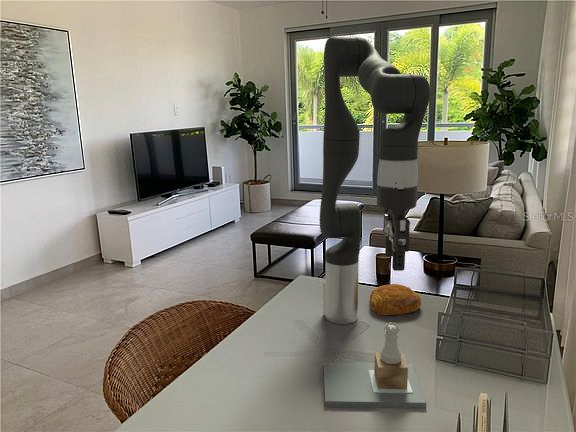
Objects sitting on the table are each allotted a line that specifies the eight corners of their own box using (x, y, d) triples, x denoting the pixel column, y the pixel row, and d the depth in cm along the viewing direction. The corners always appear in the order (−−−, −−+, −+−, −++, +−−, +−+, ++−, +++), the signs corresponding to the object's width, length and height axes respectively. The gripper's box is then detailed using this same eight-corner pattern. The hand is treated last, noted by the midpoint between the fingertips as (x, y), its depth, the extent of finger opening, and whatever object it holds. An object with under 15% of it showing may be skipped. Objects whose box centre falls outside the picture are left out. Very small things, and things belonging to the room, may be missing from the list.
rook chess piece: (401, 366, 93) (403, 330, 91) (379, 364, 93) (380, 329, 92) (401, 355, 97) (402, 320, 95) (380, 353, 98) (381, 319, 96)
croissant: (426, 321, 130) (431, 296, 129) (376, 320, 127) (381, 294, 125) (404, 300, 144) (409, 277, 142) (359, 298, 141) (363, 274, 139)
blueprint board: (325, 406, 90) (325, 400, 90) (323, 367, 104) (323, 362, 104) (426, 407, 89) (426, 401, 89) (410, 368, 103) (411, 363, 103)
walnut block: (377, 388, 94) (378, 367, 92) (374, 372, 99) (374, 352, 98) (407, 389, 93) (408, 367, 92) (401, 372, 99) (402, 352, 98)
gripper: (372, 177, 93) (370, 251, 97) (383, 189, 80) (380, 275, 83) (409, 177, 93) (406, 251, 97) (426, 188, 79) (421, 275, 83)
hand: (394, 262), depth 90 cm, fingers open, 8 cm apart
